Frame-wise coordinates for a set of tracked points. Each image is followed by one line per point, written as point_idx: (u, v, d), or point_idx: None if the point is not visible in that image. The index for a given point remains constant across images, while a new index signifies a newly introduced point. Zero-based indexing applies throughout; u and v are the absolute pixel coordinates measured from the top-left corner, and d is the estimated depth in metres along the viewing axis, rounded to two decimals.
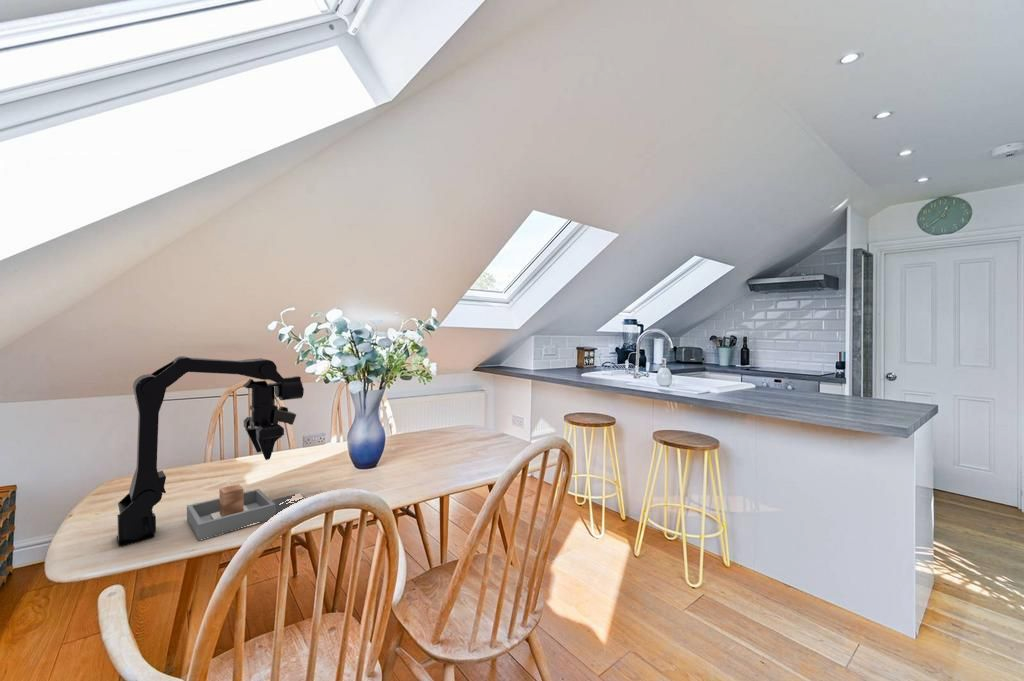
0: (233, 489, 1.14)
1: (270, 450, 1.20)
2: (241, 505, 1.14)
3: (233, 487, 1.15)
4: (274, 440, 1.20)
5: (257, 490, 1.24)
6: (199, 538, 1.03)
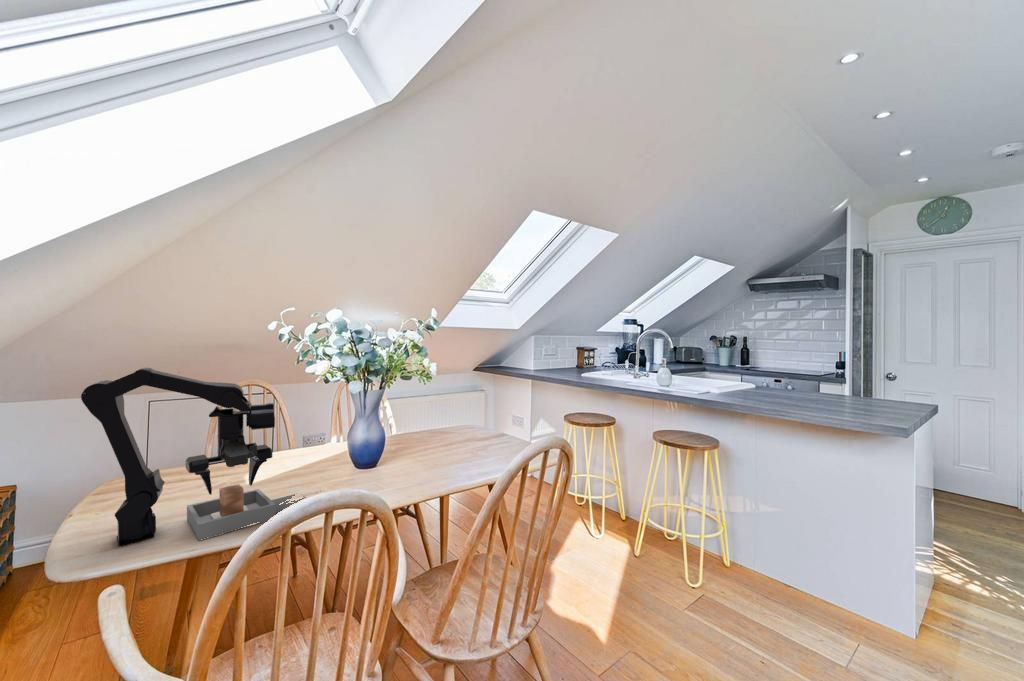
0: (233, 489, 1.14)
1: (205, 485, 1.10)
2: (241, 505, 1.14)
3: (233, 487, 1.15)
4: None
5: (257, 490, 1.24)
6: (199, 538, 1.03)
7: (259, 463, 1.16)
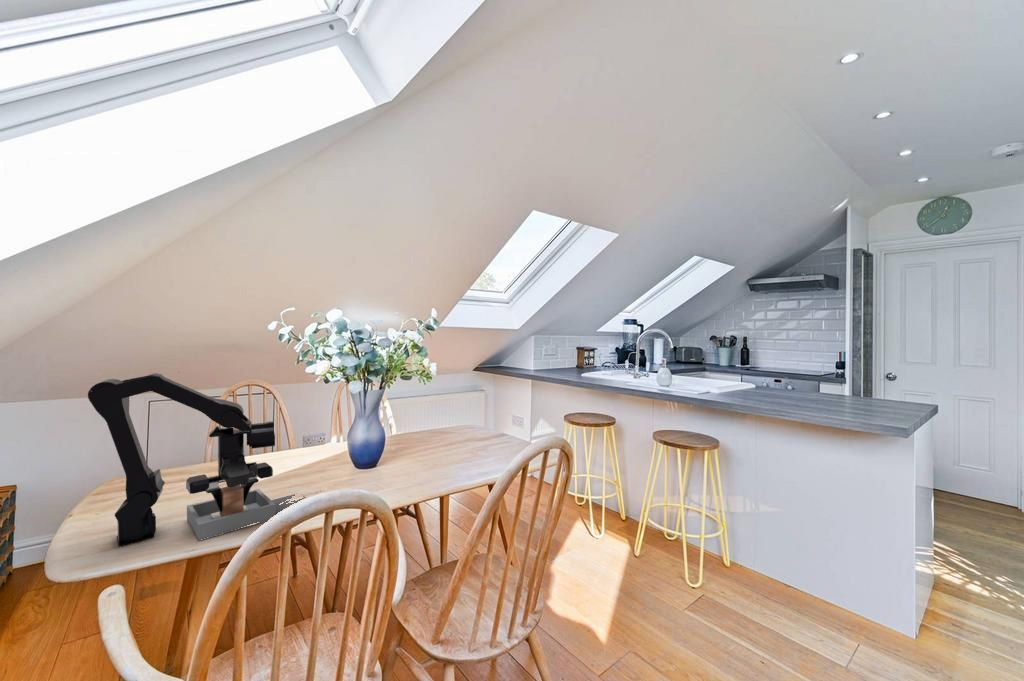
0: (233, 489, 1.14)
1: (216, 502, 1.11)
2: (241, 505, 1.14)
3: (233, 487, 1.15)
4: None
5: (257, 490, 1.24)
6: (199, 538, 1.03)
7: (250, 484, 1.15)
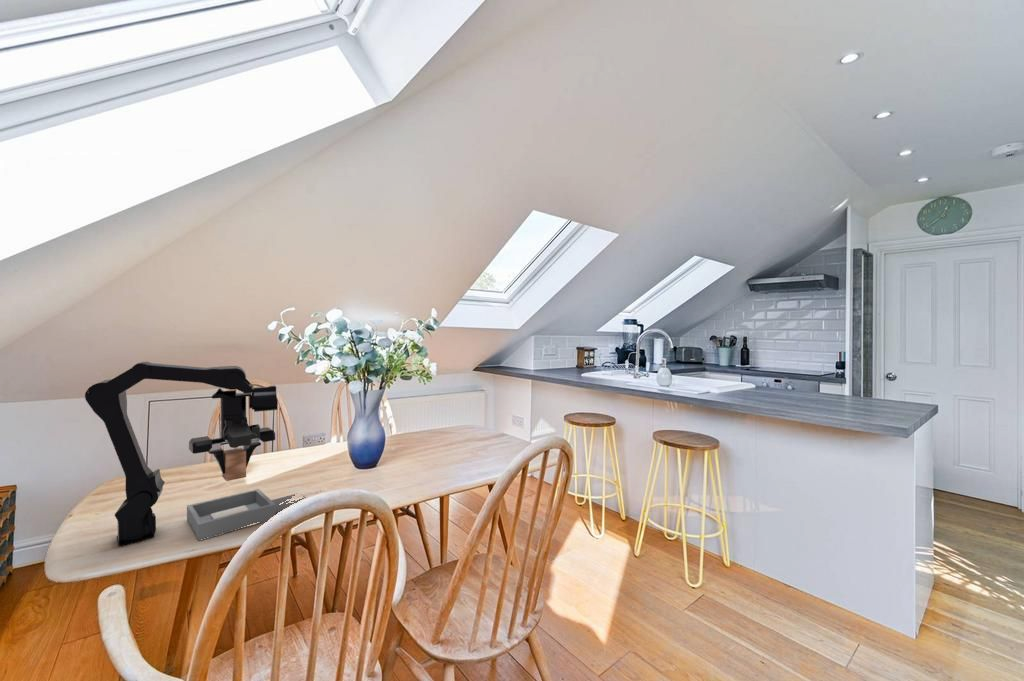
0: (235, 451, 1.14)
1: (219, 464, 1.12)
2: (244, 468, 1.14)
3: (236, 450, 1.15)
4: None
5: (257, 490, 1.24)
6: (199, 538, 1.03)
7: (253, 447, 1.15)
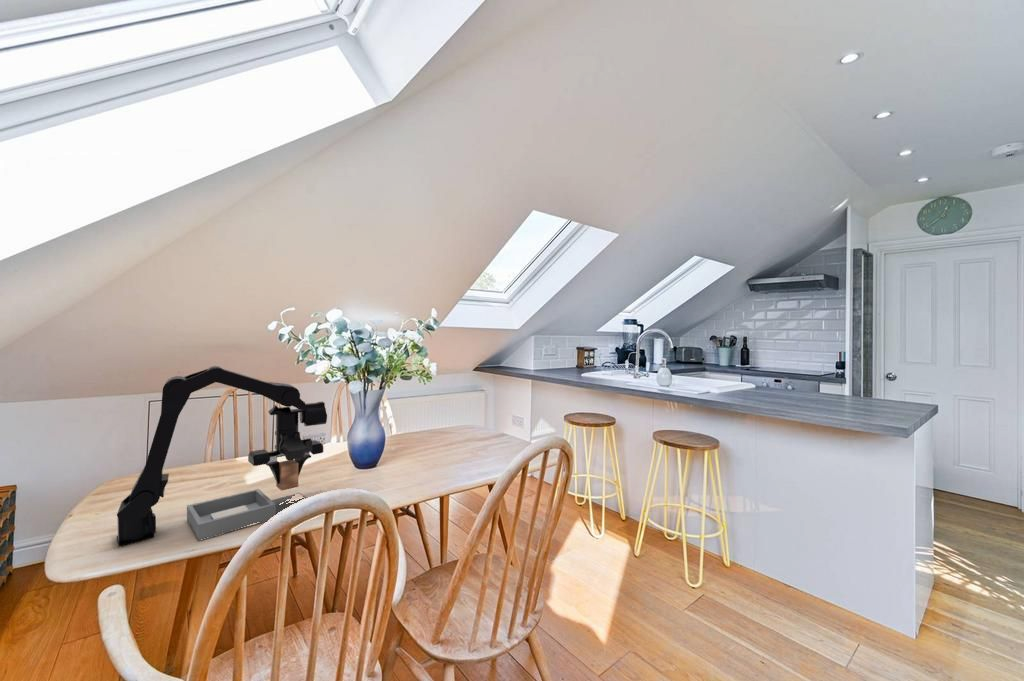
0: (289, 463, 1.23)
1: (274, 475, 1.21)
2: (296, 478, 1.24)
3: (289, 462, 1.24)
4: (272, 466, 1.20)
5: (257, 490, 1.24)
6: (199, 538, 1.03)
7: (304, 459, 1.25)
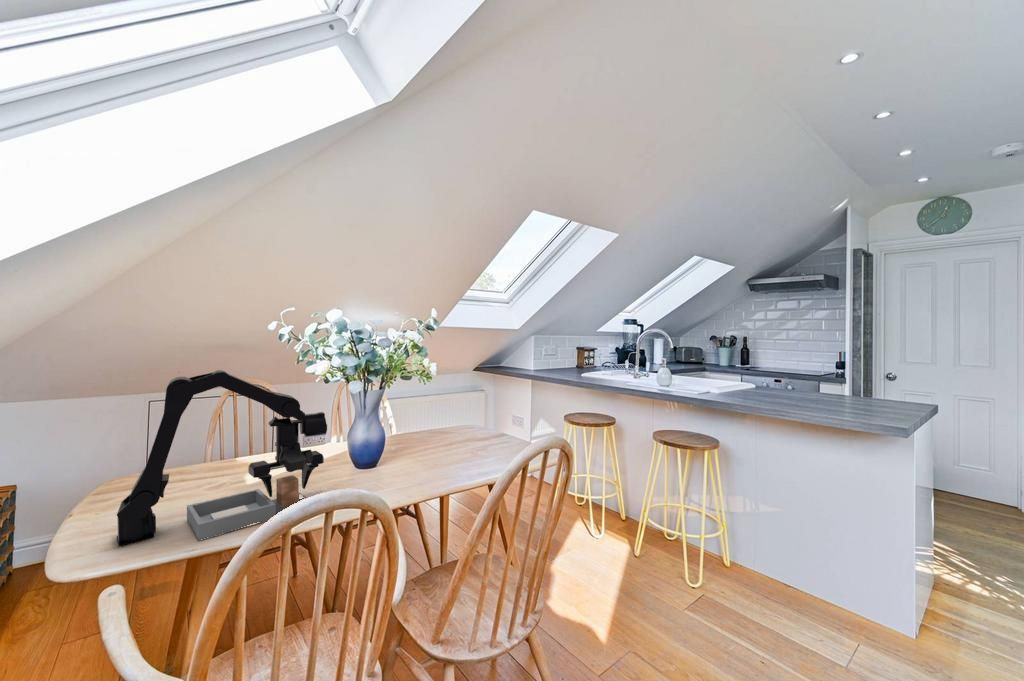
0: (289, 479, 1.24)
1: (267, 488, 1.20)
2: (296, 494, 1.24)
3: (289, 478, 1.25)
4: None
5: (257, 490, 1.24)
6: (199, 538, 1.03)
7: (312, 468, 1.27)
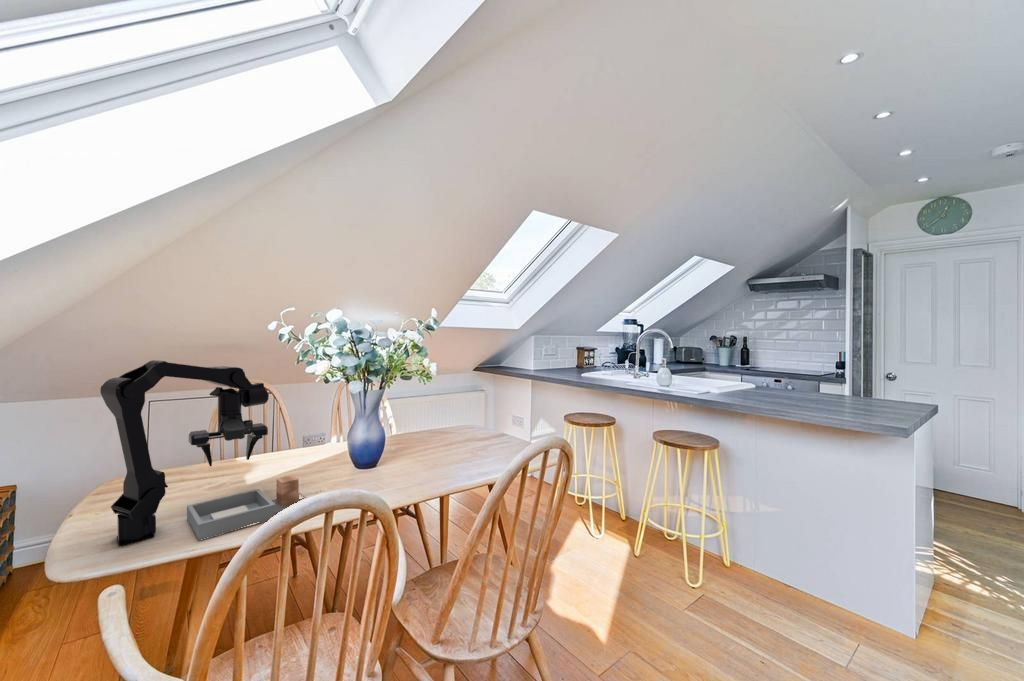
0: (289, 479, 1.24)
1: (206, 457, 1.21)
2: (296, 494, 1.24)
3: (289, 478, 1.25)
4: None
5: (257, 490, 1.24)
6: (199, 538, 1.03)
7: (255, 439, 1.27)
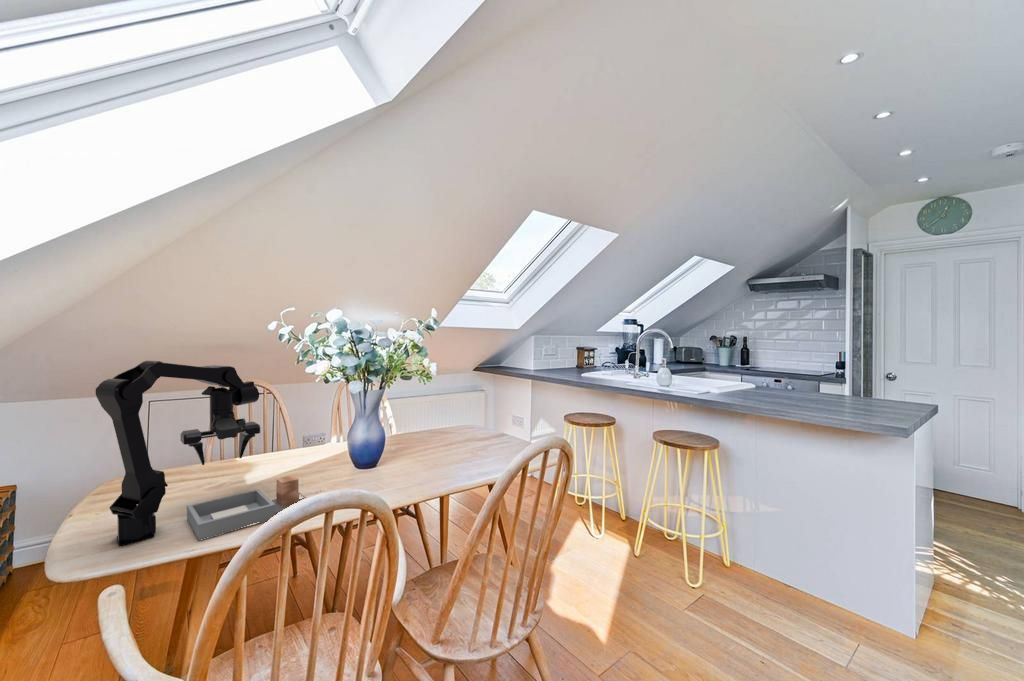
0: (289, 479, 1.24)
1: (199, 456, 1.21)
2: (296, 494, 1.24)
3: (289, 478, 1.25)
4: None
5: (257, 490, 1.24)
6: (199, 538, 1.03)
7: (248, 438, 1.28)
